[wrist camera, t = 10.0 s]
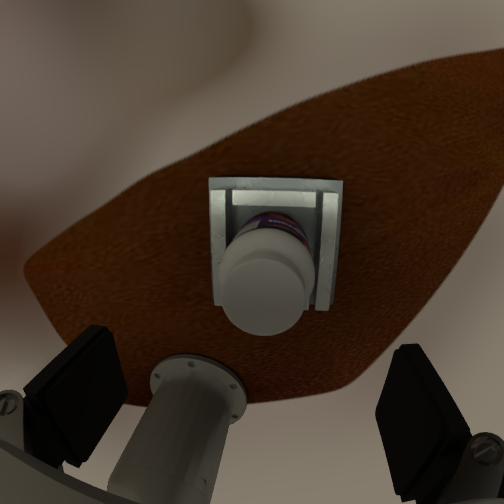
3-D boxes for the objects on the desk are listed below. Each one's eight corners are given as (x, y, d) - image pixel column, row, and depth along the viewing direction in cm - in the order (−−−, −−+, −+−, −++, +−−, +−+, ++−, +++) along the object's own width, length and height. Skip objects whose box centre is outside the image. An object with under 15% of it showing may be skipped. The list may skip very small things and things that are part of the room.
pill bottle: (322, 246, 23) (344, 303, 13) (271, 290, 24) (261, 365, 15) (272, 194, 22) (263, 218, 13) (223, 243, 23) (183, 296, 14)
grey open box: (325, 281, 29) (336, 319, 21) (224, 277, 30) (205, 313, 22) (332, 177, 26) (349, 183, 19) (222, 175, 27) (199, 179, 20)
